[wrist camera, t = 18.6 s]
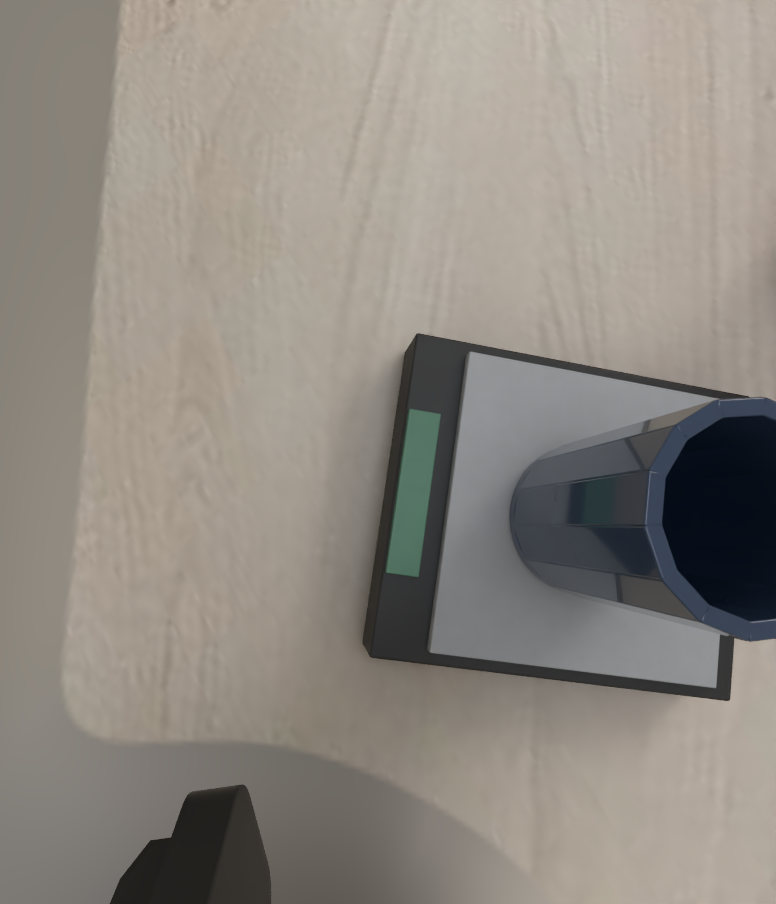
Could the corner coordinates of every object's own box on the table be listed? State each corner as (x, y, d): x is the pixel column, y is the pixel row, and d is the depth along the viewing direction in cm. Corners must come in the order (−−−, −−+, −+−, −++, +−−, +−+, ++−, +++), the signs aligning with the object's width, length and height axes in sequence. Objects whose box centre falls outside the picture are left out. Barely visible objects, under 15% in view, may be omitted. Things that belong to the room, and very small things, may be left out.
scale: (361, 644, 24) (371, 660, 21) (405, 350, 26) (419, 328, 23) (689, 684, 26) (740, 705, 23) (710, 407, 28) (760, 393, 25)
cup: (500, 585, 22) (635, 626, 13) (518, 432, 23) (657, 375, 14) (642, 605, 23) (859, 656, 14) (655, 456, 24) (868, 416, 15)
